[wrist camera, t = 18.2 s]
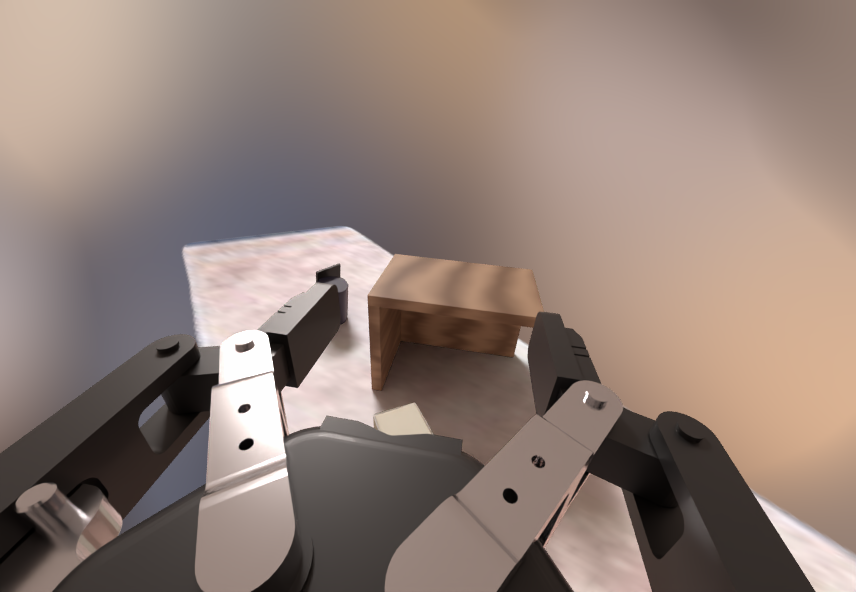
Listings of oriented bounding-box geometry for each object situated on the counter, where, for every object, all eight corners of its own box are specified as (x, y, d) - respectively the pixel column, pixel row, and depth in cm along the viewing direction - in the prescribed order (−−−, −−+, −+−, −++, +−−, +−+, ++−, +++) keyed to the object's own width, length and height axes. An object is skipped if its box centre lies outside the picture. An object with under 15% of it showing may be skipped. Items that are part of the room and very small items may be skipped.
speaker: (311, 310, 66) (308, 266, 61) (339, 304, 69) (339, 262, 64) (322, 332, 61) (320, 286, 56) (351, 325, 64) (352, 281, 59)
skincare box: (436, 532, 32) (446, 456, 26) (395, 552, 30) (395, 477, 24) (412, 474, 37) (416, 399, 31) (375, 488, 35) (372, 412, 29)
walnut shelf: (512, 352, 58) (532, 269, 50) (518, 413, 46) (545, 318, 38) (394, 335, 61) (395, 254, 53) (371, 389, 49) (367, 295, 41)
